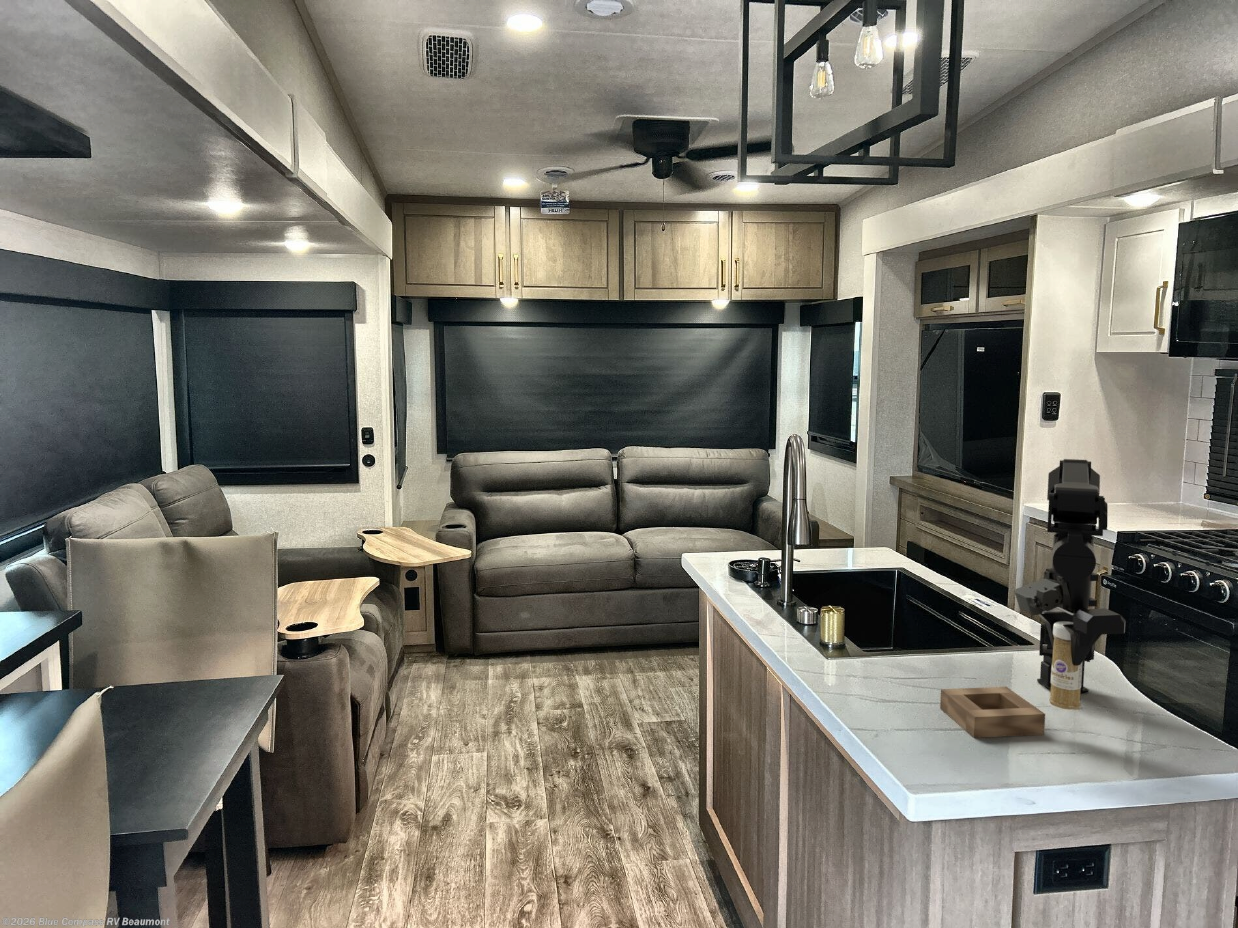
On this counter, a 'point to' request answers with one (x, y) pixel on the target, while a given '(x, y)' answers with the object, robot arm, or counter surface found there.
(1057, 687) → the sprinkles bottle
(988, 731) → the socket block
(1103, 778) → the counter surface
